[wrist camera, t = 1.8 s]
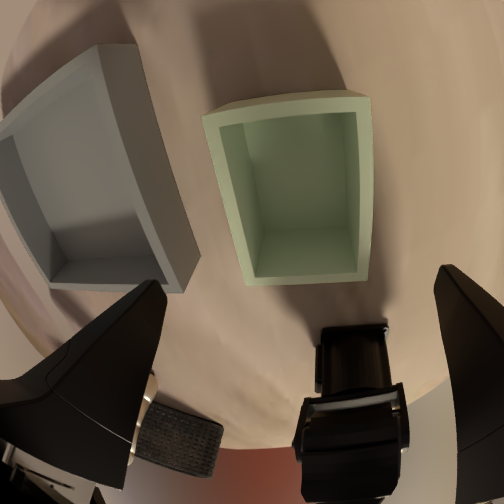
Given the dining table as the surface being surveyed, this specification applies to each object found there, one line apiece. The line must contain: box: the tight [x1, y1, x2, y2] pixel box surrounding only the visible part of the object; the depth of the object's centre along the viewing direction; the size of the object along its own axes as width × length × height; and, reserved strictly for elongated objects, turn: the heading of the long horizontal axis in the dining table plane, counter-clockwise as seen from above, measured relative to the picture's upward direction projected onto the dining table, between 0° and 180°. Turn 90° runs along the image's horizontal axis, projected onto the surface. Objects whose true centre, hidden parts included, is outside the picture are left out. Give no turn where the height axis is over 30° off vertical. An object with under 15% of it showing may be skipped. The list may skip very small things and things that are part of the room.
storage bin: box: [134, 401, 224, 479], centre depth 48 cm, size 29×19×13 cm
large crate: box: [0, 44, 201, 293], centre depth 16 cm, size 16×16×4 cm
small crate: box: [201, 89, 374, 286], centre depth 13 cm, size 6×9×5 cm
